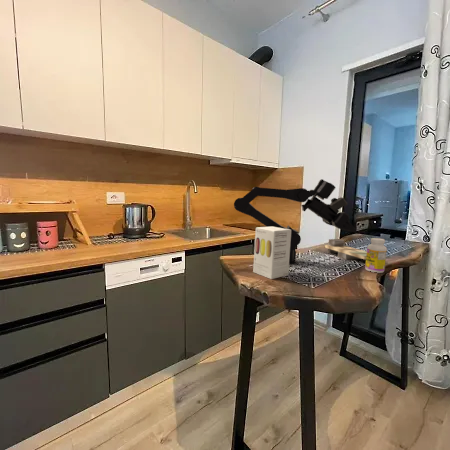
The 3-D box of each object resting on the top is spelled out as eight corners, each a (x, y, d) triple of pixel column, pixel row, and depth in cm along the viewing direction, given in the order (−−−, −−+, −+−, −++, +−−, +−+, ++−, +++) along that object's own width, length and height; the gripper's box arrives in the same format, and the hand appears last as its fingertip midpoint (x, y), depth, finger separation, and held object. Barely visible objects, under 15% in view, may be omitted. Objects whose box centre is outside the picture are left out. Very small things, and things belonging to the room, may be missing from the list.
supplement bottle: (361, 268, 104) (364, 237, 103) (376, 268, 105) (379, 237, 103) (372, 273, 98) (375, 240, 96) (388, 273, 98) (392, 240, 97)
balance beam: (380, 263, 112) (381, 248, 111) (362, 265, 109) (364, 249, 108) (339, 251, 135) (340, 238, 134) (324, 252, 131) (325, 239, 131)
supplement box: (252, 272, 94) (254, 227, 92) (269, 268, 100) (271, 225, 98) (271, 279, 87) (274, 230, 85) (289, 275, 92) (292, 229, 90)
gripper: (339, 192, 96) (374, 215, 95) (325, 192, 114) (355, 212, 114) (321, 216, 97) (355, 239, 97) (310, 213, 116) (339, 232, 115)
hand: (351, 229), depth 106 cm, fingers open, 9 cm apart
